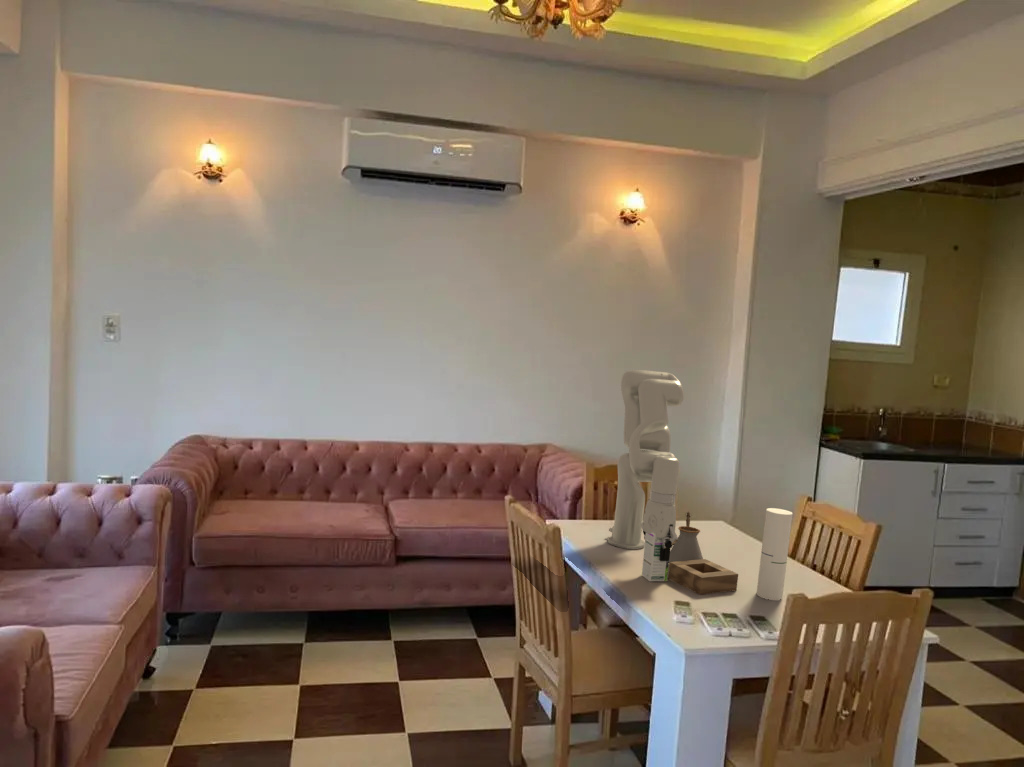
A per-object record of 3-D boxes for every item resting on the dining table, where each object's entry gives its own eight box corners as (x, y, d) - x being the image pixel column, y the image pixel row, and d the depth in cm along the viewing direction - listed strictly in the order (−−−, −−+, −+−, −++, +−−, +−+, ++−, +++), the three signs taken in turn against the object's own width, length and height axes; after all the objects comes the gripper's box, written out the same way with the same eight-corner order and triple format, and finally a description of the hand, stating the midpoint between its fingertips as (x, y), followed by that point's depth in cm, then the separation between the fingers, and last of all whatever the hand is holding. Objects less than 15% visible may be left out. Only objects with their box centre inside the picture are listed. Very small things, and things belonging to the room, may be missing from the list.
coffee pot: (703, 577, 231) (709, 529, 230) (665, 571, 234) (670, 523, 233) (701, 557, 252) (706, 513, 251) (666, 552, 254) (671, 508, 253)
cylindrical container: (761, 589, 224) (771, 506, 223) (785, 596, 220) (796, 512, 218) (752, 594, 219) (762, 510, 217) (777, 602, 214) (787, 515, 213)
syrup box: (649, 581, 222) (654, 533, 221) (640, 575, 228) (646, 527, 227) (667, 581, 224) (672, 533, 223) (658, 575, 229) (663, 528, 228)
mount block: (667, 578, 227) (669, 562, 227) (703, 574, 234) (705, 559, 233) (699, 594, 215) (701, 577, 214) (736, 590, 221) (738, 574, 221)
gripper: (634, 491, 230) (628, 548, 231) (671, 505, 215) (665, 567, 216) (654, 490, 233) (648, 547, 235) (692, 504, 218) (685, 565, 219)
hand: (656, 556), depth 225 cm, fingers closed on syrup box, 6 cm apart
